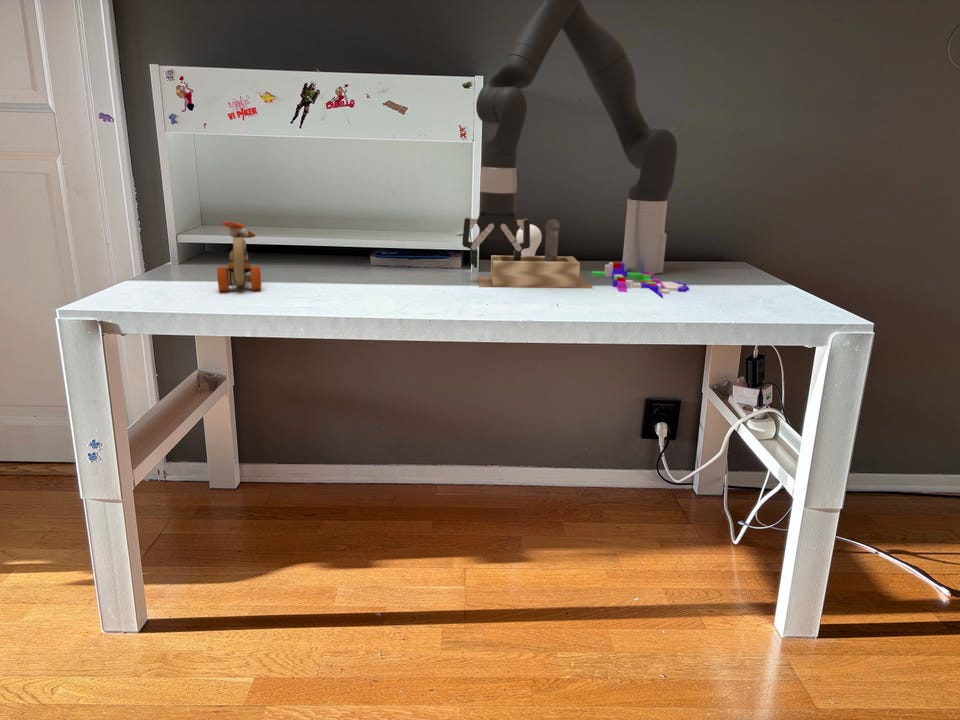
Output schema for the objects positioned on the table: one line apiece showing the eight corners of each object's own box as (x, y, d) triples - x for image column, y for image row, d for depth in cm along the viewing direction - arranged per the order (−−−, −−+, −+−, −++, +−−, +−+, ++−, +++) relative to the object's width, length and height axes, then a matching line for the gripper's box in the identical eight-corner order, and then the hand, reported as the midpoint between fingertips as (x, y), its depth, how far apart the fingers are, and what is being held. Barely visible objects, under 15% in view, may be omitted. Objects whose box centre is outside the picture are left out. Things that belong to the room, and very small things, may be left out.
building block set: (696, 302, 143) (699, 280, 142) (595, 298, 145) (597, 276, 144) (676, 278, 167) (678, 260, 166) (589, 275, 169) (590, 256, 167)
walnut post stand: (583, 282, 158) (587, 217, 153) (593, 293, 147) (598, 223, 143) (476, 281, 156) (478, 215, 152) (479, 291, 146) (480, 221, 142)
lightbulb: (532, 273, 167) (534, 226, 164) (510, 270, 170) (512, 224, 167) (544, 269, 172) (546, 224, 169) (522, 266, 175) (524, 222, 172)
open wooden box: (571, 278, 156) (572, 256, 155) (578, 286, 148) (579, 263, 146) (490, 277, 155) (491, 255, 154) (493, 285, 147) (493, 262, 145)
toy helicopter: (218, 294, 138) (211, 224, 134) (223, 275, 157) (217, 212, 153) (261, 293, 140) (256, 223, 136) (261, 273, 159) (256, 212, 155)
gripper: (530, 189, 149) (526, 265, 154) (463, 187, 149) (461, 263, 153) (534, 192, 142) (530, 271, 147) (464, 190, 141) (462, 270, 146)
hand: (495, 267), depth 150 cm, fingers open, 8 cm apart
